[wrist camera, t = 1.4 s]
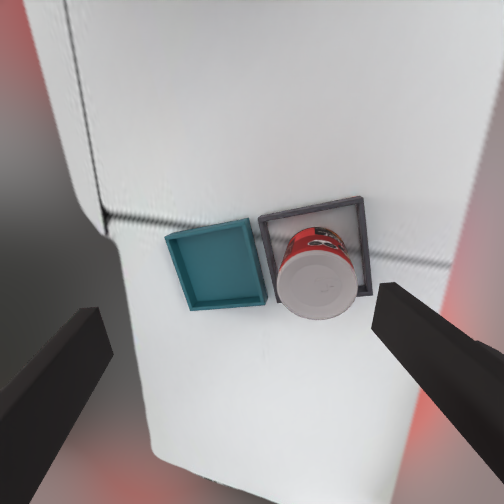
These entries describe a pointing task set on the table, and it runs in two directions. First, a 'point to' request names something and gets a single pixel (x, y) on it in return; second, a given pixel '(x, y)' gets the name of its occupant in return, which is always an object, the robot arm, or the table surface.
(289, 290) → the canned food
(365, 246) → the tray
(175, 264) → the tray
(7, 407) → the robot arm
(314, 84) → the table surface
